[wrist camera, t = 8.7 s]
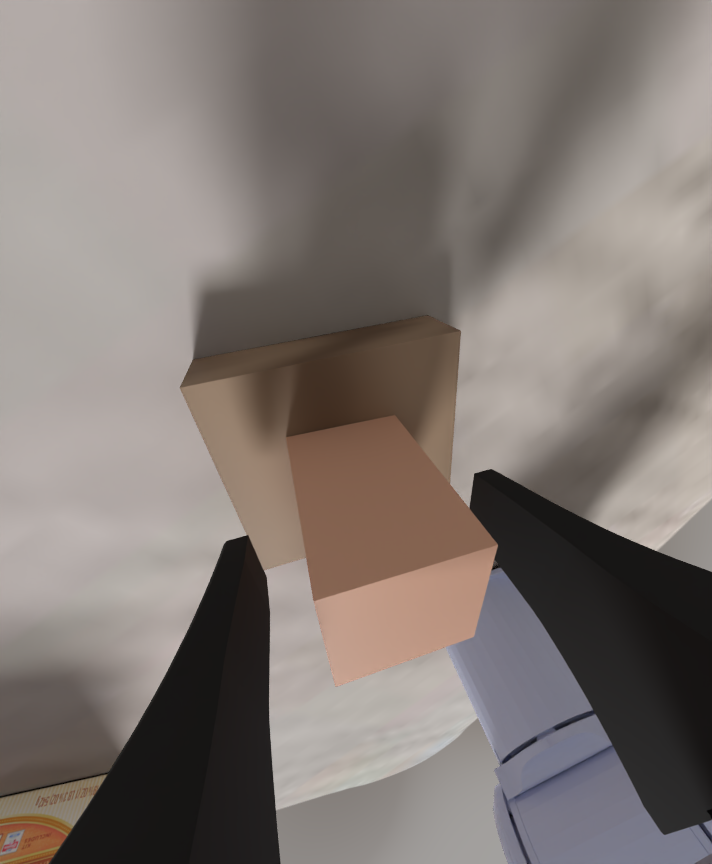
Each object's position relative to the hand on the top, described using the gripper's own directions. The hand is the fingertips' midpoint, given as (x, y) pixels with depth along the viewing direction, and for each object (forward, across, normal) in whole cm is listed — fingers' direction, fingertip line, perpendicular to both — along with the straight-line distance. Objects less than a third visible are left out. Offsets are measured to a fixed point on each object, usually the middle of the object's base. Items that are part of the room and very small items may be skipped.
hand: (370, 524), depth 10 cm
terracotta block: (+3, 0, 0) cm, 3 cm away
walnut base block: (+6, 0, 0) cm, 6 cm away
